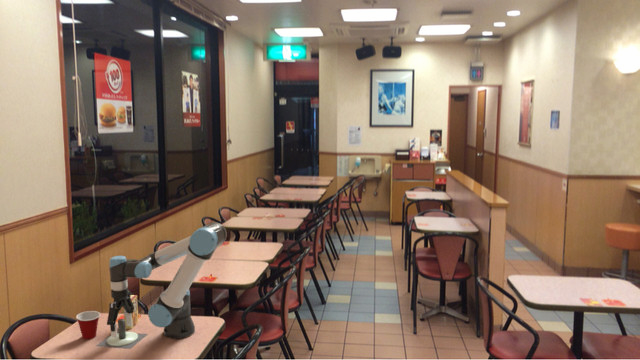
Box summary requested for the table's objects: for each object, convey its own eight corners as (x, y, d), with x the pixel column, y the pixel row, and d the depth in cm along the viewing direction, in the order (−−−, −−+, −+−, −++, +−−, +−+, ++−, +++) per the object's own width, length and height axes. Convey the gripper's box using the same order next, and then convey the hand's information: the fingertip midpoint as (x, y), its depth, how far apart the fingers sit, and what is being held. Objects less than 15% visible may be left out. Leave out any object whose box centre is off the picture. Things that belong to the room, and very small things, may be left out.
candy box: (131, 322, 261) (129, 294, 259) (139, 322, 261) (137, 294, 259) (124, 329, 253) (122, 301, 251) (132, 329, 253) (131, 301, 251)
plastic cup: (92, 343, 237) (90, 319, 236) (72, 341, 240) (71, 318, 238) (106, 334, 248) (105, 311, 246) (87, 332, 250) (85, 309, 249)
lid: (143, 334, 246) (142, 315, 244) (127, 347, 232) (126, 327, 231) (117, 332, 248) (116, 313, 247) (100, 345, 234) (99, 325, 233)
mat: (148, 335, 246) (148, 334, 246) (130, 350, 231) (130, 348, 231) (115, 332, 249) (115, 331, 249) (95, 347, 234) (95, 345, 234)
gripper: (126, 279, 249) (128, 320, 252) (96, 297, 226) (99, 341, 228) (140, 280, 248) (142, 321, 251) (111, 298, 224) (114, 343, 227)
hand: (122, 331), depth 239 cm, fingers open, 12 cm apart
